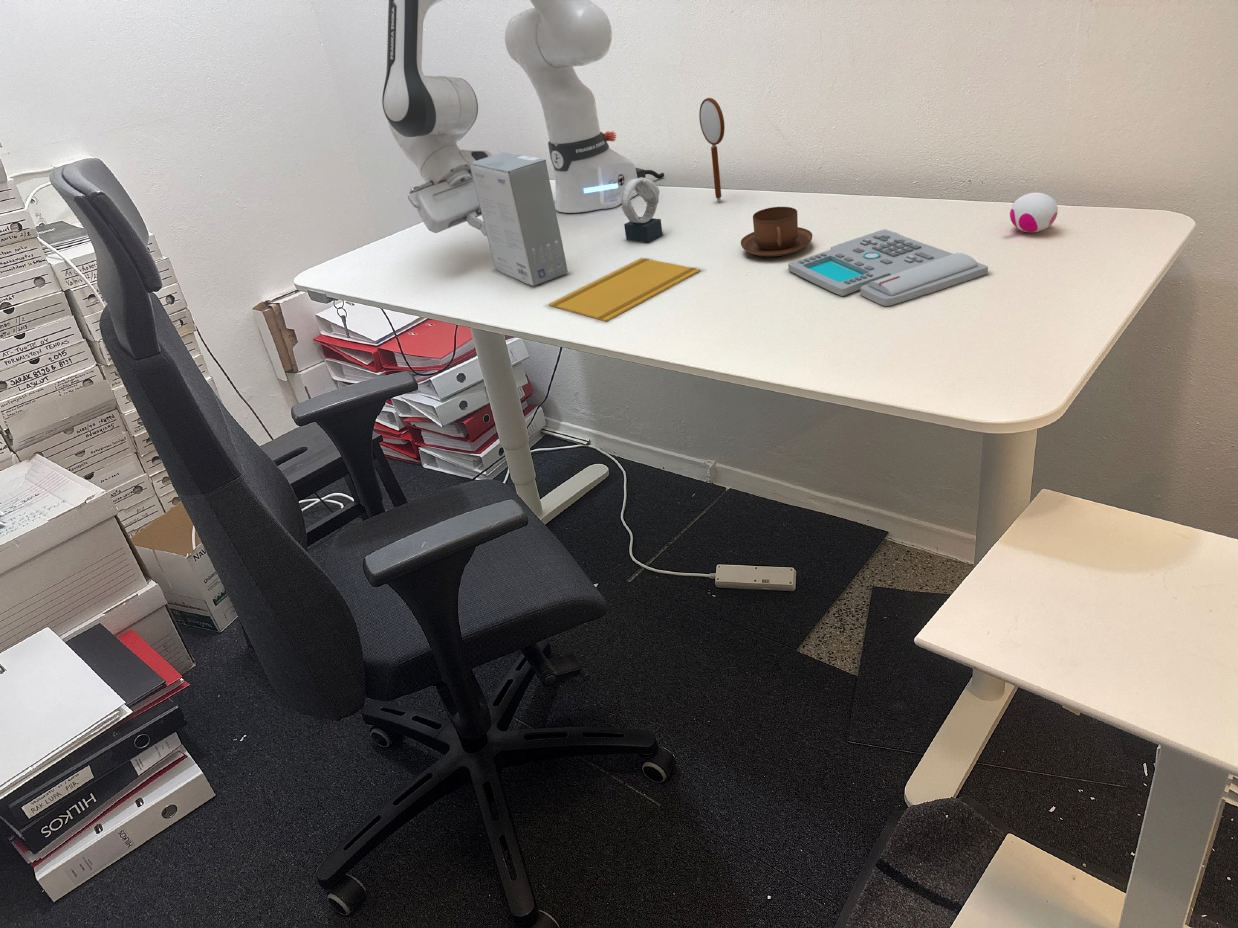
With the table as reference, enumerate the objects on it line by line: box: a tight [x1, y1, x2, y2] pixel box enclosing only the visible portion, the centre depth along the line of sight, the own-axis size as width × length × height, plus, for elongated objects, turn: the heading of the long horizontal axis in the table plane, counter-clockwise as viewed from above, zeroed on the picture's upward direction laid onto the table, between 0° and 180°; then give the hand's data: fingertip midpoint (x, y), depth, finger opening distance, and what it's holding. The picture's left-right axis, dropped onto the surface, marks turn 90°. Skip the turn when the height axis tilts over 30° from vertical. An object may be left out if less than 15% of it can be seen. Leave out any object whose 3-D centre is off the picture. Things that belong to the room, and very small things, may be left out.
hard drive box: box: [469, 152, 569, 287], centre depth 145 cm, size 16×8×20 cm, turn 34°
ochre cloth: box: [548, 257, 701, 322], centre depth 136 cm, size 22×14×1 cm, turn 134°
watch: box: [621, 178, 664, 244], centre depth 154 cm, size 6×8×11 cm
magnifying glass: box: [698, 97, 725, 203], centre depth 163 cm, size 9×2×20 cm, turn 23°
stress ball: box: [1009, 192, 1059, 236], centre depth 128 cm, size 8×8×7 cm
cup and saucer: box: [740, 206, 813, 257], centre depth 138 cm, size 12×12×6 cm
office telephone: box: [787, 228, 989, 307], centre depth 124 cm, size 23×3×20 cm
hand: (492, 231), depth 153 cm, fingers closed
